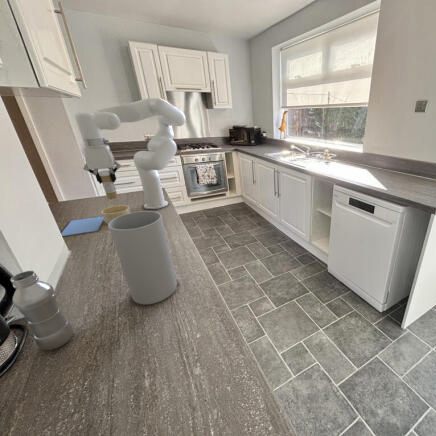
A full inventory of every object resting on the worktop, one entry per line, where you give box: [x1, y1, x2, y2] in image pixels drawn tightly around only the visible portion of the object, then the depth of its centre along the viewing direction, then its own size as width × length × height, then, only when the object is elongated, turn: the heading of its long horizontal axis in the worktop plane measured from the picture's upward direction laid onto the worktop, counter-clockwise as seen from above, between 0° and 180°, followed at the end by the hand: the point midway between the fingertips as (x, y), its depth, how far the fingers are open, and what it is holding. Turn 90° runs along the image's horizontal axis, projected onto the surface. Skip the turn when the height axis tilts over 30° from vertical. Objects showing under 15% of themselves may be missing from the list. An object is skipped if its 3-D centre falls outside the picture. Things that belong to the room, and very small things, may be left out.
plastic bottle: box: [10, 270, 74, 351], centre depth 55 cm, size 6×7×20 cm
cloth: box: [60, 216, 104, 237], centre depth 116 cm, size 18×14×1 cm
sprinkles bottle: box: [98, 169, 119, 200], centre depth 115 cm, size 5×5×13 cm
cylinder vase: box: [107, 210, 178, 305], centre depth 70 cm, size 12×12×25 cm
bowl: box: [100, 204, 132, 225], centre depth 121 cm, size 12×12×6 cm
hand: (107, 181), depth 115 cm, fingers closed on sprinkles bottle, 4 cm apart
